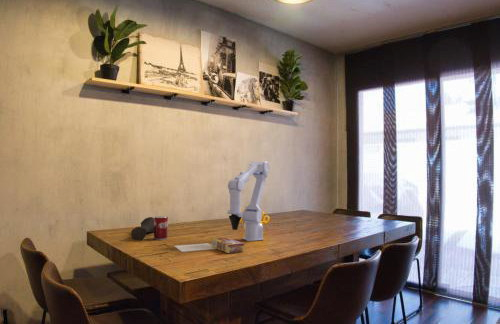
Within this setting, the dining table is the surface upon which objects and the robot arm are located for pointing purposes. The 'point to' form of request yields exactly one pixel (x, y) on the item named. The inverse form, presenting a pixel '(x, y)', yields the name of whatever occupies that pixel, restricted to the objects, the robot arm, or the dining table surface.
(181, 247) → the mat
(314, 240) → the dining table surface
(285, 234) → the dining table surface
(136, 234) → the dark grey dumbbell
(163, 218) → the soda can
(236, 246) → the candy box
